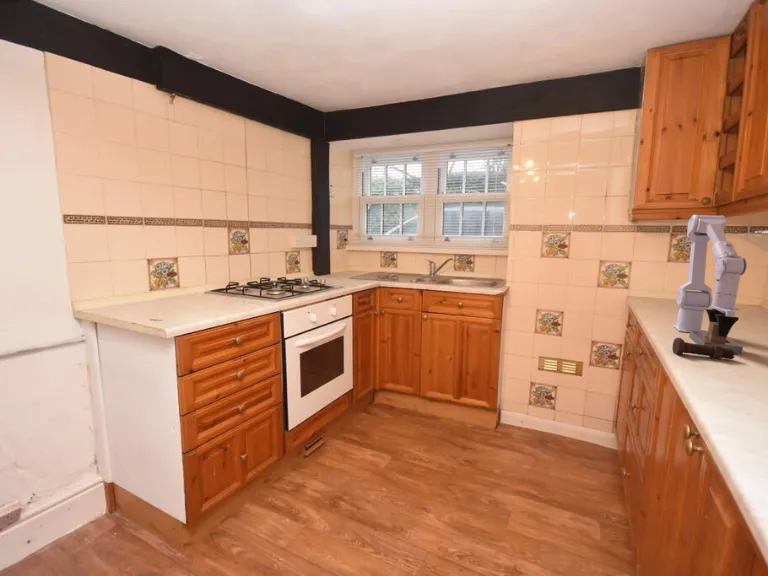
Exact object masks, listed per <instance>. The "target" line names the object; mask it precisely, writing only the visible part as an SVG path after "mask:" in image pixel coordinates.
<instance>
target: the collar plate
mask: <svg viewBox="0 0 768 576" xmlns="http://www.w3.org/2000/svg"><path fill="white" fill-rule="evenodd" d="M707 333H708V331H703V332H700V331H691V330H690V332H689V336H688V337H689V338H690V339H691V340H692V341H693V342H694V344H699V345H707V346H711V345H712V344H718V345H720V346H721V347H722V348H729V349H732V350H734V352H735V355H742V354H743V349H744V346H743V345H741V344H739V343H738V342H736V341H735V340H734V339H732V338H731V337H729V336H728V335H727V337H726V342H717V341H709V340H708V339H707Z"/></svg>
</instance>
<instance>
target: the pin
mask: <svg viewBox="0 0 768 576" xmlns="http://www.w3.org/2000/svg"><path fill="white" fill-rule="evenodd" d="M707 332H708V333H707V339H708V340H709V341H717V342H726V337H723V336H718V323H717V322H709V324H708V327H707Z"/></svg>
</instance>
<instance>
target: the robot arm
mask: <svg viewBox="0 0 768 576" xmlns="http://www.w3.org/2000/svg"><path fill="white" fill-rule="evenodd" d="M726 226H727V219H726V217H725V216H724V215H705V214H704V215H703V214H702V215H701V214H700V215H698V214H693V215H692V216H691V217H690V218H689V219H688V222H687V231H686V233H687V238H689V239H690V241H691V242H690V254H689V256H690V257H689V266H688V267H689V268H688V278H687V279H688V280H687V282H686V283H684V284H682V285H680V286H679V287H678V292H677V294H676V299H675V300H676V304H677V305H678V306H679V310H678V311H677V318H676V324H673V327H674V328H675V329H676V330H677V331H678V332H683V333H690V330H691V331H700V332H704V331H703V330H702V325H703V319H704V314H705V312H706V313H707V317H708V320H709V322H717V323H718V336H723V337H727V336H728V335H729V333H730V331H731V330H732V328H733V326H734V325H735V323H737V322H738V321H739V319H740V318H739V317H738V316H735V315H736V311H739V310H740V307H736V300H737V296H738V291H739V284H740V281H741V280H740V279H741V276H743V275H744V274H745V273H746V271H747V267H748V265H747V264H748V263H747V260H746V258H745V257H742V256H741V255H738V252H737V250H736V249H735V247H734V245H733V243H732V242H731V241H728V240H727V237H726V233H725V228H726ZM709 241H710V242H711V243H712V246H711V252H712V254H713V256H714V259H715V261H716V262H715V264H714V271H715V275H714V277H715V279H716V281H715V287H714V293H713V295H712V288H711V287H710V286H709V285H707V284H706V283H705V277H706V269H707V268H706V265H707V253H708V242H709Z"/></svg>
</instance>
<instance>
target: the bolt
mask: <svg viewBox="0 0 768 576" xmlns="http://www.w3.org/2000/svg"><path fill="white" fill-rule="evenodd" d="M671 348H672V349H671V350H672V353H673V354H674V355H675V356H683V354H691V355H697V356H698V355H699V356H706V357H709V358H710V359H713V360H716V359H717V361H719V360H720V359H727V360H733V359H735V356H736V354H735V352H734V350H732V349H729V348H722V347H721V346H720V345H718V344H712V345H711V346H707V345H699V344H697V343H692V342H687V341H685V339H683V338H681V337H675V338H674V339H673V342H672V347H671Z"/></svg>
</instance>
